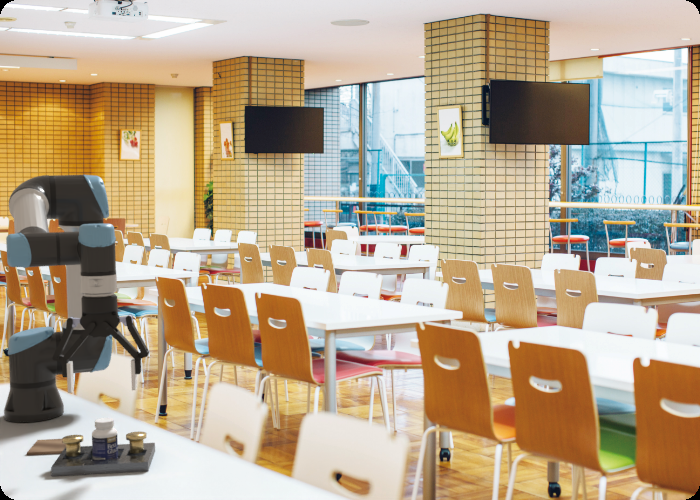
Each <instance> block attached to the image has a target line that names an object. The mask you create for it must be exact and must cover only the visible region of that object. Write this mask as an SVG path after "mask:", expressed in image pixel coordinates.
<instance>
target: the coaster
mask: <svg viewBox="0 0 700 500" xmlns="http://www.w3.org/2000/svg"><path fill="white" fill-rule="evenodd" d="M65 447H66V444H64V443H62V438H51V439H50V438H49V439H37V440H36V441H35V442H34V443H33V444H32V446H31V447H30V448H29V449H28V451H27V452H26V456H38V455H40V456H41V455H42V456H43V455H54V454H55V455H60V454H61V453H62V451H63V450H64V448H65Z"/></svg>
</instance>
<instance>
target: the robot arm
mask: <svg viewBox="0 0 700 500" xmlns="http://www.w3.org/2000/svg"><path fill="white" fill-rule="evenodd" d="M109 209H110V207H109V201H108V195H107V190H106V186H105V183H104V180H103V178H102V177H100V176H98V175H95V174H94V175H93V174H66V175H65V174H64V175H63V174H62V175H61V174H59V175H38V176H34V177H31V178H29V179H27V180H26V181H23V182H22V183H20V184H19V185H18V186H16V188H15V189H14V190H13V191H12V192H11V194H10V196H9V199H8V210H9V214H10V215H11V217H12V218H13V227H14V228H13V229H14V233H10V234H7V236H6V237H5V239H6V241H5V242H6V258H7V259H6V263H7V265H8V266H9V267H10V268H11V267H12V268H24V269H27V268H35V267H36V268H38V267H53V266H55V267H56V266H65V272H66V273H65V276H66V277H65V278H66V279H65V280H66V303H67V304H66V305H67V318H66V320H65V321H64V322H63V323H62V326H61V328H62V330H61V331H55V329H54V327H52V326H41V327H34V328H30V329H25V330H21V331H19V332H16V333H14V334H12V335H11V336H10V337H9V338H8V344H7V345H8V346H7V347H8V348H7V350H8V351H7V355H8V369H9V371H8V373H9V392H8V395H7V398H6V402H5V405H4V406H5V407H4V410H3V415H4V416H3V417H4V420H6V421H7V422H11V423H33V422H34V423H35V422H42V421H47V420H51V419H55V418H58V417H60V416H62V415H63V414H65V407H64V402H63V399H62V396H61V394H60V392H59V389H58V387H57V379H56V377H57V376H58V375H59V376H60V375H62V377H63V378H67V379H66V384H67V385H66V386H67V394H72V393H73V392H74V390H75V385H74V382H75V381H74V374H81V373H93V372H99V371H104V370H107V369H108V367H109V366H110V363H111V360H112V353H113V344H114V343H113V338H114V339H115V340H116V341H117V342H118V343H119V345H121V346H122V348H123V349H124V350H126V352H127V353H128V354H129V355H130V356H131V358H132V359H131V360H130V369H131V370H130V371H131V372H130V374H131V377H130V378H131V391H136V390H137V388H138V378H137V375H140V374H141V373H142V359H143V358H147V357H149V354H150V350H149V348H148V347H147V345H146V344H145V341H144V340H143V338H142V336H141V334H140V332H139V331H138V329H137V327H136V326H135V322H134V316H133V315H132V314H128V315H125V316H120V315H119V312H118V310H119V309H118V308H119V306H118V295H117V294H116V292H117V291H118V284H117V283H118V282H117V280H118V279H117V278H118V277H117V269H116V267H117V266H116V265H117V264H116V257H117V256H116V241H117V239H116V238H117V237H116V232H115V227H114V225H113V224H111V223H106V222H105V223H104V219H108V218H109V216H110V211H109ZM48 220H58V221H57V222H58V223H57V224H58V227H59V228H60V229H62V232H61V231H60V232H58V231H57V232H55V231H53V232H51V231H50V228H49V224H48ZM120 323H122V324H123V326H124V327H127V330H128V332H129V333H130V335H131V337H132V339H133V341H134V342H135V344H136V346H137V348H138V349H137V348H136V347H135V346H134V345H133V344H132V343H131V342H130V341H129V340H128V339H127V338H126V336H124V335H123V333H122V331H120V330H119V329H118V328H117V327H118V326H119V324H120ZM139 351H140V352H139Z"/></svg>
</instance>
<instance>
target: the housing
mask: <svg viewBox="0 0 700 500" xmlns="http://www.w3.org/2000/svg"><path fill="white" fill-rule="evenodd" d="M143 444H144V451H143V452H141V453H130V444H129V443H125V444H124V443H122V444H121V443H120V444H118V459H103V460H93V454H92V445H82V446H81V445H80V449H81V454H80V455H78V456H74V457H68V456H66V447H65V448H64V450H63V451H62V453H61V454H59V456H58V457H57V459H56V460H55V461H54V463H53V464H52V466H51V467H50V468H51V472H50V473H51V477H65V476H66V477H67V476H69V477H70V476H87V475H101V474H102V475H103V474H119V473H122V474H123V473H135V472H136V473H137V472H138V473H139V472H140V473H141V472H148V471H149V469H150V467H151V464H152V462H153V459H154V456H155V453H156V443H155V442H143Z"/></svg>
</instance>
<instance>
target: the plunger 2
mask: <svg viewBox="0 0 700 500" xmlns="http://www.w3.org/2000/svg"><path fill="white" fill-rule="evenodd" d="M146 438H147V432H145V431H132V432H128V433H126V434H125V440H126V441H128V444H130V453H141V452H143V451H144V444H143V443H144V440H145V439H146Z"/></svg>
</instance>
